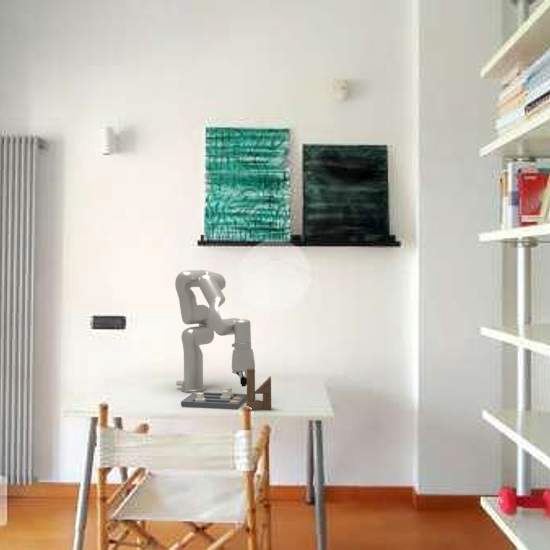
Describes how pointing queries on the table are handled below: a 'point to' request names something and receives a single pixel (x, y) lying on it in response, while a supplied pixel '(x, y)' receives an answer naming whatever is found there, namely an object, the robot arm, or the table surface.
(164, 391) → the table surface
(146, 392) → the table surface
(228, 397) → the tab mid
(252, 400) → the brown notched upright part
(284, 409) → the table surface
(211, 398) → the switch board
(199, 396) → the tab near
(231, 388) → the tab far
